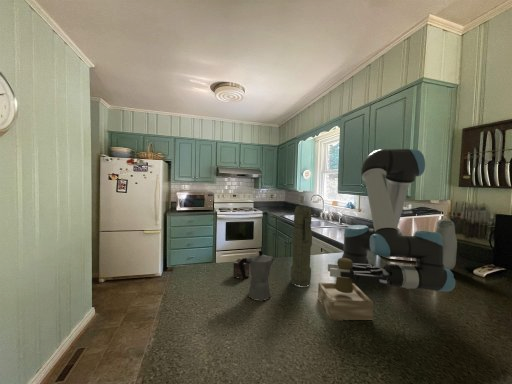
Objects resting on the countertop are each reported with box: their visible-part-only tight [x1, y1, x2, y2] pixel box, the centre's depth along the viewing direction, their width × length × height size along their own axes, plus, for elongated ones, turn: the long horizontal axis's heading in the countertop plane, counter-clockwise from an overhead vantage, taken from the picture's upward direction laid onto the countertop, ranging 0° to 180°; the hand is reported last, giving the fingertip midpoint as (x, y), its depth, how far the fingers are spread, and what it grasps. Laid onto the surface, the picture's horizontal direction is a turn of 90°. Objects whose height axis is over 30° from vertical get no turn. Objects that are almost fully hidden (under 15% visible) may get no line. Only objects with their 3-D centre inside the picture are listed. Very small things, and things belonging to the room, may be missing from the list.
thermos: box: [290, 204, 313, 286], centre depth 99 cm, size 9×12×35 cm
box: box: [232, 258, 250, 278], centre depth 105 cm, size 6×6×7 cm
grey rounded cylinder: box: [434, 218, 458, 271], centre depth 120 cm, size 10×10×28 cm
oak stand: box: [317, 282, 374, 320], centre depth 79 cm, size 14×14×6 cm
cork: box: [335, 257, 353, 293], centre depth 79 cm, size 6×6×11 cm
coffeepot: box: [239, 250, 277, 300], centre depth 87 cm, size 15×9×18 cm, turn 110°
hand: (329, 269), depth 80 cm, fingers closed on cork, 4 cm apart
